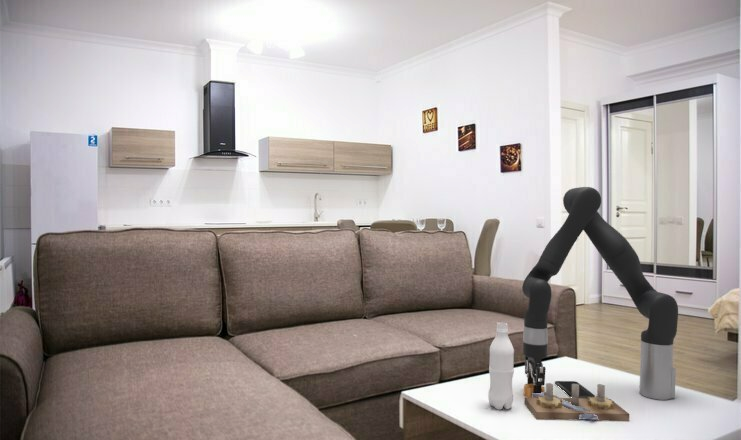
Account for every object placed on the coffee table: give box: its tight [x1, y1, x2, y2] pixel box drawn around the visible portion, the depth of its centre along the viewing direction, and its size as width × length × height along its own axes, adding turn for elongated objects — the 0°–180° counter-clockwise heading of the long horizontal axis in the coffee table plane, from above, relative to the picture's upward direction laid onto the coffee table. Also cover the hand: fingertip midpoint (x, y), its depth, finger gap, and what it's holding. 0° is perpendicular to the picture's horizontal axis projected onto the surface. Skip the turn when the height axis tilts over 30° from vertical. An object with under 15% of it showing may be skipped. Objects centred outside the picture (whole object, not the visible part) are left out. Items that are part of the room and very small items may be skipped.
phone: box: [554, 380, 596, 398], centre depth 174 cm, size 8×1×15 cm
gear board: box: [524, 382, 630, 422], centre depth 155 cm, size 26×12×8 cm, turn 90°
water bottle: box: [488, 321, 515, 410], centre depth 158 cm, size 7×7×25 cm
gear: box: [523, 383, 545, 397], centre depth 168 cm, size 6×6×3 cm
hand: (534, 393), depth 168 cm, fingers closed on gear, 6 cm apart
